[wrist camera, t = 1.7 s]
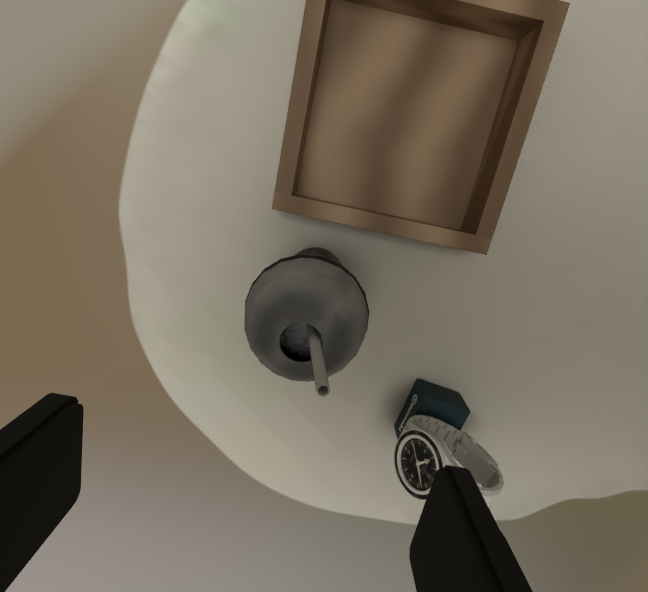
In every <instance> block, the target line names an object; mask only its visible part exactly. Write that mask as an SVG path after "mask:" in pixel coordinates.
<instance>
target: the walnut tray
mask: <svg viewBox="0 0 648 592" xmlns="http://www.w3.org/2000/svg"><path fill="white" fill-rule="evenodd" d="M569 5H570V3H567V2H563V1H559V0H306V5H305V11H304V17H303V23H302V29H301V35H300V41H299V47H298V54H297V60H296V66H295V72H294V78H293V84H292V90H291V96H290V102H289V108H288V114H287V120H286V126H285V132H284V138H283V144H282V150H281V156H280V162H279V168H278V174H277V181H276V187H275V193H274V199H273V205H272V209H275V210H280V211H284V212H289V213H294V214H298V215H303V216H308V217H312V218H317V219H322V220H326V221H331V222H336V223H340V224H345V225H350V226H354V227H359V228H364V229H368V230H373V231H378V232H383V233H387V234H392V235H397V236H401V237H406V238H411V239H415V240H420V241H425V242H429V243H434V244H439V245H443V246H448V247H453V248H457V249H462V250H467V251H471V252H476V253H481V254H485V255H487V252H488V249H489V246H490V243H491V240H492V237H493V234H494V231H495V228H496V225H497V222H498V219H499V216H500V213H501V210H502V207H503V204H504V201H505V198H506V195H507V192H508V189H509V186H510V183H511V180H512V177H513V174H514V171H515V168H516V165H517V162H518V159H519V156H520V153H521V150H522V147H523V144H524V141H525V138H526V135H527V132H528V128H529V125H530V122H531V119H532V116H533V113H534V110H535V107H536V104H537V101H538V98H539V95H540V92H541V89H542V86H543V83H544V80H545V77H546V74H547V71H548V68H549V65H550V62H551V59H552V56H553V53H554V50H555V47H556V44H557V41H558V38H559V35H560V32H561V29H562V26H563V23H564V20H565V17H566V14H567V11H568V8H569Z"/></svg>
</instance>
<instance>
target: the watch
mask: <svg viewBox="0 0 648 592" xmlns="http://www.w3.org/2000/svg"><path fill="white" fill-rule="evenodd" d="M469 413H470V410H469V408H468V407H467V405H466V403H465V402H464V400H463V398H462V397H461V395H460V393H458V392H455V391H453V390H450V389H447V388H444V387H441V386H438V385H435V384H432V383H430V382H427V381H424V380H421V379H418V378H417V380H416V382H415V384H414V386H413V388H412V390H411V392H410V394H409V396H408V398H407V400H406V402H405V404H404V406H403V409H402V411H401V413H400V415H399V417H398V419H397V421H396V423H395V425H394V427H395V431H396V435H397V439H398V441H397V443H396V447H395V452H394V463H395V470H396V473H397V476H398V479H399V481H400V483H401V485H402V486H403V488H404V491H405V493H406V494H407V495H410V496H412V497H414V498H415V499H418V500H420V501H426V499H427V497H428V494H429V491H430V488H431V485H432V482H433V479H434V476H435V474H436V471H437V470H438V469H441V470H442V469H443V467H444V466H445V465H451V466H456V467H459V466H458V465H457V464H456V462H455V461H454V460H453V458H452V456H453V457H454V458H455V459H456V460H457V461H458V462H459V463H460V464H461V465H462V466H463V467H464V468H467V469H469V471H470V472H471V474H472V476H473V478H474V480H475V481H476V483H478V484H481V485H482V487H483V488H481V487H479V486H478V488H479V490H480V492H481V494H482V496H483V498H484V500H485V502H486V504H487V506H488V508H490V507H491V505H492V504H493V502H494V500H495V499H496V497H497V495H498V494H499V492H500V490H501V489H502V487H503V484H504V480H503V476H502V474H501V472H500V470H499V469H498V464H497V463H496V462H495V460H494V459H493V458H492V457H491V456H490V455H489V454H488V453H487V452H486V451H485V449H484V448H483V447H481V446H480V445H479V444H478V443H477V441H476V440H475V439H474V438H472V437H470V436H469V435H468V434H467V433H466V432H464V433H462V432H461V431H460V430H461V428H462V426H463V424H464V422H465V421H466V419H467V417H468V415H469ZM450 451H451V452H452V455H451V453H450Z"/></svg>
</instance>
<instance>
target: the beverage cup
mask: <svg viewBox="0 0 648 592" xmlns="http://www.w3.org/2000/svg"><path fill="white" fill-rule="evenodd" d="M368 317H369V309H368V304H367V300H366V295H365V292H364V291H363V289H362V287H361V286H360V284H359V282H358V281H357V279H356V277H355V276H353V275H352V274H351V273H350V272H349V271H348V270H347V269H345V268H344V267H343V266H342V265H341V264H340V262H339V260H338V259H337V258H336V257H335V256H334V255H333V254H332V253H331V252H329V251H327V250H325V249H323V248H315V247H313V248H308V249H305V250H302V251H301V252H299V253H297V254H296V255H294V256H292V257H287V258H283V259H280V260H279V261H277V262H275V263H274V264H272V265H270V266H269V267H267V268H265V269H264V270H263V271H262V273H261V274H260V275H259V276H258V277H257V279H256V280H255V281H254V282H253V283H252V285H251V288H250V291H249V293H248V296H247V299H246V301H245V332H246V336H247V339H248V342H249V345H250V348H251V350H252V351H253V352H254V354H255V355H256V357H257V358H258V359H259V361H260V362H261V363H262V364H263V365H264V366H266V367H267V368H268V369H269V370H271V371H272V372H273V373H275V374H277V375H279V376H282V377H285V378H287V379H290V380H296V381H308V382H309V381H314V380H315V385H316V391H317V393H318V395H320V396H326V395H328V394H329V391H330V387H329V382H328V377H329V376H331V375H333V374H335V373H337V372H338V371H340V370H342V369H343V368H344V367H345V366H346V365H347V364H348V363H349V362H350V361H351V360H352V359H353V358H354V357H355V356H356V354H357V352H358V350H359V348H360V346H361V343H362V341H363V339H364V337H365V333H366V331H367V326H368Z"/></svg>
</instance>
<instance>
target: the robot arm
mask: <svg viewBox="0 0 648 592" xmlns="http://www.w3.org/2000/svg"><path fill="white" fill-rule="evenodd" d="M82 433H83V406H82V405H81V404H78V400H77V398H76V397H72V396H67V395H62V394H56V393H50V394H48V395H46V396H45V397H43V398H42V399H41V400H39V401H38V402H37V403H36V404H34V405H33V406H32V407H30V408H29V409H27V410H26V411H25V412H23V413H22V414H21V415H19V416H18V417H17V418H15V419H14V420H13V421H11V422H10V423H9V424H7V425H6V426H5V427H3V428H2V429H1V430H0V592H5V591H6V589H7V588H8V587H9V585H10V584H11V583H12V582H13V581H14V579H15V578H16V577H17V575H18V574H19V573H20V572H21V571H22V569H23V568H24V567H25V565H26V564H27V563H28V562H29V560H30V559H31V558H32V557H33V555H34V554H35V553H36V552H37V550H38V549H39V548H40V547H41V545H42V544H43V543H44V541H45V540H46V539H47V538H48V536H49V535H50V534H51V533H52V531H53V530H54V529H55V528H56V526H57V525H58V524H59V523H60V521H61V520H62V519H63V518H64V516H65V515H66V514H67V513H68V511H69V510H70V509H71V508H72V506H73V505H74V503H75V502H76V500H77V498H78V496H79V493H80V488H81V462H82V461H81V460H82V435H83V434H82ZM410 563H411V567H412V572H413V576H414V581H415V585H416V590H417V592H532V590H531V588H530V586H529V584H528V582H527V580H526V578H525V576H524V574H523V572H522V570H521V568H520V566H519V564H518V562H517V560H516V558H515V556H514V555H513V552H512V550H511V548H510V546H509V544H508V542H507V540H506V538H505V537H504V536H503V534H502V532H501V531H500V530H499V528H498V526H497V524H496V522H495V520H494V518H493V516H492V514H491V512H490V510H489V508H488V506H487V504H486V502H485V500H484V498H483V496H482V494H481V492H480V490H479V488H478V486H477V484H476V482H475V480H474V478H473V476H472V474H471V472H470V471H469V469H467V468H462V467H456V466H451V465H445V466H444V467H443V469H442V470H441V469H438V470H437V471H436V474H435V476H434V479H433V482H432V485H431V488H430V491H429V494H428V497H427V499H426V502H425V505H424V508H423V511H422V514H421V517H420V519H419V522H418V525H417V528H416V531H415V534H414V537H413V539H412V542H411V546H410Z"/></svg>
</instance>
